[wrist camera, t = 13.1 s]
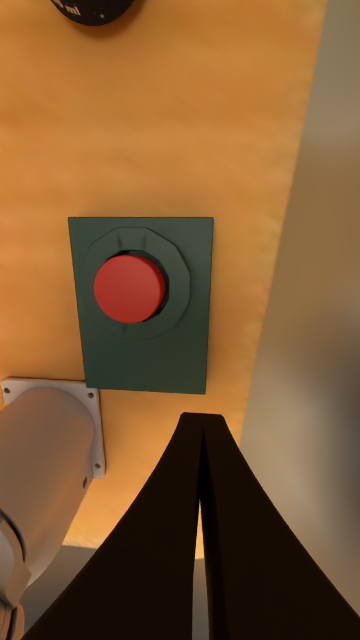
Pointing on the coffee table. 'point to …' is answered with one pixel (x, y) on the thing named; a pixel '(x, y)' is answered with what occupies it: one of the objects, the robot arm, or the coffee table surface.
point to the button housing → (167, 320)
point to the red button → (129, 288)
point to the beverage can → (92, 10)
